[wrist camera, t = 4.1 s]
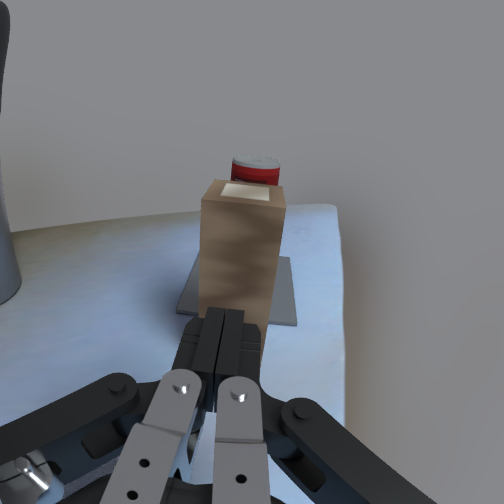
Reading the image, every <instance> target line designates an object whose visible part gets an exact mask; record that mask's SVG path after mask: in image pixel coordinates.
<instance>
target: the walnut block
mask: <svg viewBox="0 0 504 504" xmlns="http://www.w3.org/2000/svg"><path fill="white" fill-rule="evenodd" d="M285 212H286V205H285V199H284V193H283V187H282V186H274V185H265V184H256V183H247V182H237V181H227V180H226V181H225V180H214V181H213V183H212V184H211V186H210V187H209V189H208V190H207V192H206V193H205V195H204V196H203V198H202V200H201V224H200V256H199V318H205V315H206V312H207V308H208V306H210V307H218V308H226V312H227V309H236V310H245V313H244V323H250V324H257V326H258V328H259V330H260V332H261V351H260V352H261V354H260V366H261V361H262V355H263V349H264V343H265V338H266V332H267V326H268V320H269V314H270V308H271V302H272V296H273V290H274V284H275V277H276V271H277V265H278V258H279V252H280V245H281V239H282V232H283V225H284V219H285Z"/></svg>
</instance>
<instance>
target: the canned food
mask: <svg viewBox="0 0 504 504" xmlns="http://www.w3.org/2000/svg"><path fill="white" fill-rule="evenodd" d="M279 170H280V162H279V161H277V160H275V159H272V158H268V157H262V156H253V155H240V156H236V157H234V158H233V161H232V172H231V181H237V182H247V183H256V184H265V185H274V186H278V179H279Z"/></svg>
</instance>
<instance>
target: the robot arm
mask: <svg viewBox="0 0 504 504" xmlns="http://www.w3.org/2000/svg"><path fill="white" fill-rule="evenodd" d="M9 33H10V15H9V10H8V8H7V6H6V5H5V4H4V3H3V2H2V1H0V112H1V95H2V83H3V73H4V67H5V61H6V55H7V48H8V42H9ZM20 284H21V276H20V272H19V268H18V264H17V260H16V256H15V252H14V247H13V242H12V237H11V232H10V228H9V222H8V216H7V210H6V204H5V197H4V189H3V181H2V171H1V161H0V304H1V303H3V302H5V301H6V300H8V299H9V298H10V297H12V296H13V295H14V294H15V293H16V291H17V290H18V288H19V287H20ZM244 313H245V310H236V309H227V312H226V308H218V307H210V306H208V308H207V312H206V315H205V318H199V317H193V318H192V319H191V320H190V321H189V322H188V323H187V324H186V327H185V329H184V332H183V335H182V338H181V343H180V344H179V347H178V351H177V354H176V357H175V360H174V363H173V366H172V369H171V371H169V372H167V373H166V374H165V375H164V376H163V377H162V379H161V380H159V381H155V382H149V383H136V381H135V380H134V379H133V378H132V377H131V376H130V375H127V374H125V373H112V374H109V375H107V376H105V377H103V378H101V379H99V380H97V381H95V382H93V383H91V384H89V385H87V386H85V387H83V388H81V389H79V390H77V391H75V392H73V393H71V394H69V395H67V396H65V397H63V398H61V399H59V400H57V401H55V402H53V403H50V404H48V405H46V406H44V407H42V408H40V409H38V410H36V411H34V412H31V413H29V414H27V415H25V416H23V417H21V418H19V419H16V420H14V421H12V422H10V423H8V424H5V425H3V426H1V427H0V499H1V501H2V503H3V504H285V503H284V502H282V501H281V500H279V499H277V498H275V497H273V496H271V495H270V485H269V470H268V456H267V454H270V456H271V458H272V459H273V461H274V462H275V463H276V464H277V465H278V466H279V467H280V468H281V469H282V470H283V472H284V473H285V474H286V475H287V476H288V477H289V478H290V479H291V480H292V481H293V482H294V483H295V484H296V485H297V486H298V487H299V488H300V489H301V490H302V491H303V492H304V493H305V494H306V495H307V496H308V497H309V498H310V499H311V500H312V501H313V502H314V503H315V504H437V503H436V502H434V501H433V500H432V499H430V498H429V497H428V496H426V495H425V494H424V493H422V492H421V491H420V490H419V489H417V488H416V487H415V486H413V485H412V484H411V483H410V482H408V481H407V480H406V479H405V478H403V477H402V476H401V475H399V474H398V473H397V472H396V471H395V470H393V469H392V468H391V467H390V466H389V465H387V464H386V463H385V462H383V460H381V459H380V458H379V457H378V456H376V455H375V454H374V453H373V452H372V451H371V450H369V449H368V448H367V447H366V446H365V445H363V444H362V443H361V442H360V441H359V440H358V439H357V438H355V437H354V436H353V435H352V434H351V433H350V432H349V431H347V430H346V429H345V428H344V427H343V426H342V425H341V424H340V423H338V422H337V421H336V420H335V419H334V418H333V417H332V416H331V415H330V414H328V413H327V412H326V411H325V410H324V409H323V408H322V407H321V406H320V405H319V404H317V403H316V402H315V401H313V400H310V399H307V398H294V399H291V400H289V401H288V402H284V401H281V400H278V399H275V398H273V397H271V396H269V395H268V394H266V393H265V392H264V391H263V389H262V388H261V385H260V380H259V378H260V354H261V352H260V351H261V332H260V330H259V328H258V326H257V324H250V323H244ZM213 406H214V412H215V413H217V417H216V435H215V448H214V469H213V484H201V485H193V484H190V479H191V470H192V465H193V462H194V458H195V455H196V451H197V447H198V444H199V440H200V437H201V433H202V430H203V424H204V420H205V415H206V411H207V412H213ZM118 455H120V457H119V459H118V461H117V463H116V466H115V468H114V470H113V473H111V474H108V475H105V476H103V477H100V478H99V479H97V480H95V481H93V482H92V483H90V484H88V485H87V486H85V487H83V488H82V489H80V490H78V491H76V492H75V493H73V494H71V495H69V496H68V497H66V498H64V499H62V497H63V494H64V485H65V484H67V483H69V482H71V481H73V480H75V479H77V478H79V477H81V476H83V475H85V474H86V473H88V472H90V471H92V470H94V469H96V468H97V467H99V466H101V465H103V464H105V463H106V462H108V461H110V460H112V459H113V458H115V457H117V456H118ZM61 499H62V500H61Z"/></svg>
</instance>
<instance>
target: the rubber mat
mask: <svg viewBox="0 0 504 504" xmlns="http://www.w3.org/2000/svg"><path fill="white" fill-rule="evenodd" d="M199 256H200V253H199V255H198V257H197V260H196V262H195V264H194V267H193V269H192V272H191V274H190V276H189V279H188V281H187V283H186V286H185V288H184V291H183V293H182V296H181V298H180V301H179V303H178V305H177V308H176V313H182V314H189V315H197V316H199ZM268 324H276V325H287V326H297V317H296V308H295V299H294V290H293V282H292V273H291V265H290V257H282V256H279V258H278V265H277V271H276V277H275V284H274V290H273V296H272V302H271V308H270V314H269V320H268Z"/></svg>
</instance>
